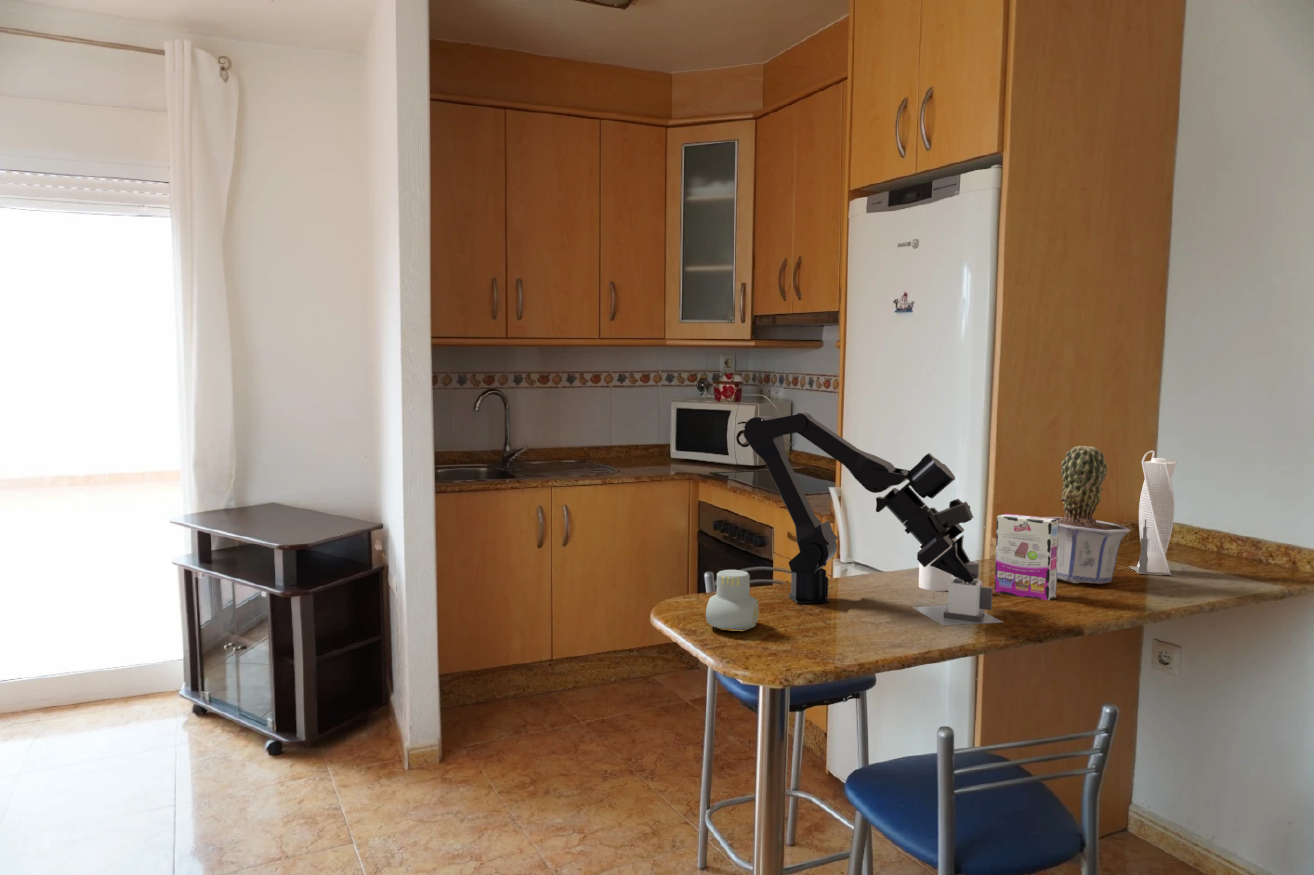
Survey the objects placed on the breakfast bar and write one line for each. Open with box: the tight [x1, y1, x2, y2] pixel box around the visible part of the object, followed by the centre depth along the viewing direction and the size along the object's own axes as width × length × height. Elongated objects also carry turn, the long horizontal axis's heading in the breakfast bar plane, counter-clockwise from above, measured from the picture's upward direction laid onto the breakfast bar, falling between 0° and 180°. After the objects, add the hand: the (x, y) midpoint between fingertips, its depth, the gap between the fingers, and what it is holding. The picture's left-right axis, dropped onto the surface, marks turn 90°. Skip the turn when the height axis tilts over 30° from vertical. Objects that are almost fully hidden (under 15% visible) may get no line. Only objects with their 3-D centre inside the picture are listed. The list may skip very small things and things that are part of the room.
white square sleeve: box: [944, 576, 994, 622], centre depth 163 cm, size 8×6×6 cm
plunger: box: [953, 561, 980, 584], centre depth 163 cm, size 4×4×8 cm
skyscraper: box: [1128, 449, 1178, 576], centre depth 203 cm, size 8×8×28 cm
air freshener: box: [705, 569, 760, 630], centre depth 158 cm, size 11×8×10 cm
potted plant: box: [1043, 445, 1132, 585], centre depth 195 cm, size 18×18×30 cm
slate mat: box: [911, 605, 1005, 626], centre depth 165 cm, size 12×12×1 cm
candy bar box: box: [994, 513, 1059, 601], centre depth 182 cm, size 11×5×16 cm, turn 47°
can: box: [918, 543, 952, 592], centre depth 185 cm, size 6×6×12 cm
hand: (973, 578), depth 163 cm, fingers closed on plunger, 4 cm apart
